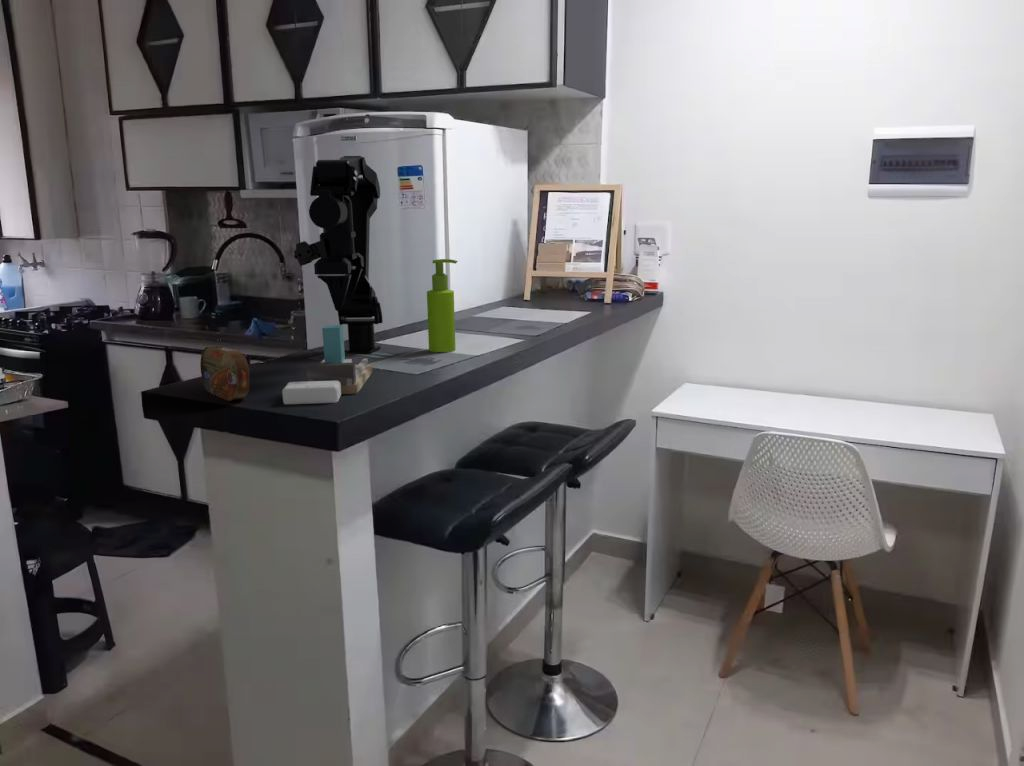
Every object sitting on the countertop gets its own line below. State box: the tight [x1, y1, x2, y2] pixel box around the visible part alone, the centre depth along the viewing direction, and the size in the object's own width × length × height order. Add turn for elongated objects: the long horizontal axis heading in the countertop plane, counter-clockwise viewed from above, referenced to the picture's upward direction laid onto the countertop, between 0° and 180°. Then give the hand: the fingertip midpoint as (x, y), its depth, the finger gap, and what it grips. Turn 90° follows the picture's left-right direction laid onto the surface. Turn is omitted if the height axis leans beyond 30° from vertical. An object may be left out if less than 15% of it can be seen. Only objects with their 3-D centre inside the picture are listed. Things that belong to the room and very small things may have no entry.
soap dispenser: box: [426, 258, 459, 353], centre depth 167 cm, size 6×7×20 cm
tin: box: [199, 346, 250, 402], centre depth 130 cm, size 15×3×8 cm, turn 43°
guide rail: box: [305, 358, 373, 395], centre depth 139 cm, size 17×9×5 cm, turn 1°
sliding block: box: [320, 324, 353, 363], centre depth 135 cm, size 5×5×9 cm
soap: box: [281, 380, 342, 405], centre depth 128 cm, size 9×6×3 cm, turn 95°
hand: (343, 307), depth 150 cm, fingers open, 9 cm apart
